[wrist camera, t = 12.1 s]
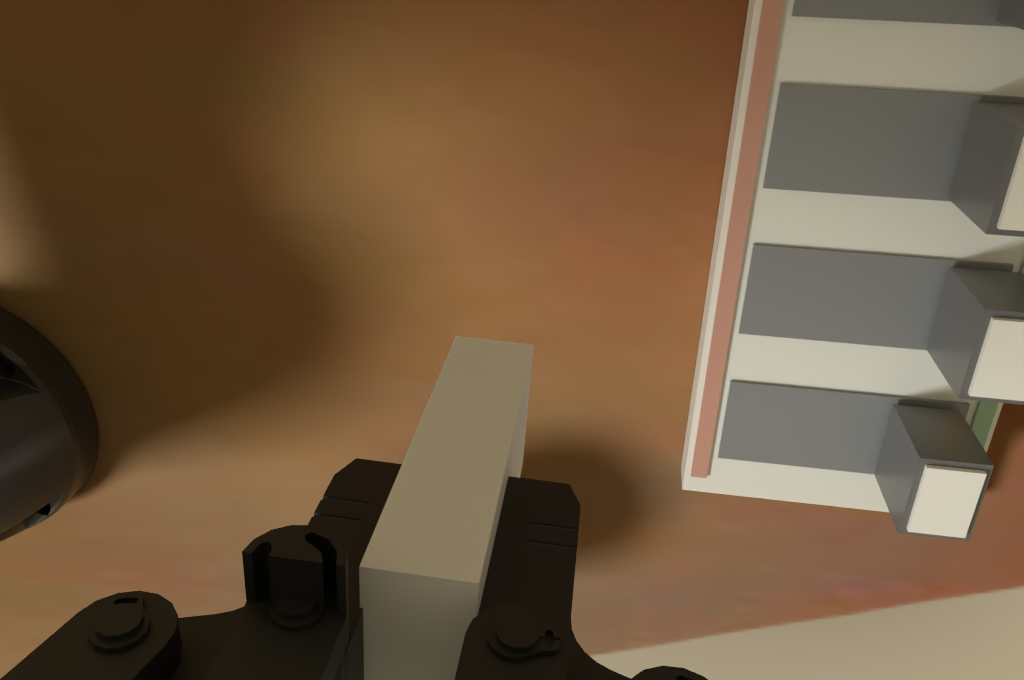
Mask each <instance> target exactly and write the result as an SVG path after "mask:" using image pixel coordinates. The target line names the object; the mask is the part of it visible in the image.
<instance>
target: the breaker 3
mask: <svg viewBox="0 0 1024 680" xmlns="http://www.w3.org/2000/svg"><path fill="white" fill-rule="evenodd" d="M993 468H994V464H993V463H992V461H991V460H990V458H989V456H988V455H987V453H986V452H985V450H984V448H983V447H982V445H981V444H980V442H979V440H978V439H977V437H976V436H975V434H974V432H973V431H972V429H971V428H970V426H969V424H968V423H967V421H966V420H965V418H964V416H963V415H962V413H961V412H960V411H958V410H947V409H937V408H926V407H916V406H906V405H895V404H893V406H892V410H891V414H890V418H889V421H888V425H887V429H886V432H885V436H884V440H883V444H882V447H881V451H880V455H879V458H878V462H877V466H876V470H875V473H874V475H875V477H876V480H877V482H878V485H879V487H880V490H881V492H882V495H883V497H884V500H885V502H886V505H887V507H888V510H889V512H890V515H891V517H892V520H893V522H894V525H895V527H896V530H897V532H898V533H904V534H913V535H921V536H930V537H939V538H948V539H957V540H966V541H969V538H970V535H971V532H972V529H973V526H974V523H975V521H976V518H977V515H978V512H979V509H980V506H981V503H982V500H983V497H984V494H985V491H986V488H987V486H988V483H989V480H990V477H991V474H992V471H993Z"/></svg>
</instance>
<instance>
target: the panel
mask: <svg viewBox="0 0 1024 680" xmlns="http://www.w3.org/2000/svg"><path fill="white" fill-rule="evenodd" d="M1000 4H1001V0H749V4H748V11H747V18H746V25H745V32H744V39H743V46H742V52H741V59H740V66H739V73H738V80H737V87H736V94H735V101H734V107H733V114H732V121H731V128H730V135H729V142H728V149H727V155H726V162H725V169H724V176H723V183H722V190H721V197H720V203H719V210H718V217H717V224H716V231H715V238H714V245H713V251H712V258H711V265H710V272H709V279H708V286H707V293H706V299H705V306H704V313H703V320H702V327H701V334H700V341H699V348H698V354H697V361H696V368H695V375H694V382H693V389H692V396H691V402H690V409H689V416H688V423H687V430H686V437H685V444H684V450H683V457H682V464H681V476H682V489H683V490H692V491H701V492H710V493H719V494H728V495H737V496H746V497H755V498H764V499H774V500H783V501H792V502H801V503H810V504H819V505H828V506H837V507H846V508H855V509H865V510H874V511H883V512H889V510H888V507H887V505H886V502H885V500H884V497H883V495H882V492H881V490H880V487H879V485H878V482H877V480H876V477H875V475H874V473H875V470H876V466H877V462H878V458H879V455H880V451H881V447H882V444H883V440H884V436H885V432H886V429H887V425H888V421H889V418H890V414H891V410H892V406H893V404H895V405H906V406H916V407H926V408H937V409H947V410H958V411H960V412H961V413H962V415H963V416H964V418H965V420H966V421H967V423H968V424H969V426H970V428H971V429H972V431H973V432H974V434H975V436H976V437H977V439H978V440H979V442H980V444H981V445H982V447H983V448H984V450H985V452H986V453H987V450H988V447H989V444H990V441H991V438H992V435H993V432H994V429H995V426H996V423H997V420H998V417H999V414H1000V411H1001V408H1002V405H1003V403H998V402H987V401H977V400H966V399H958V398H957V396H956V395H955V393H954V392H953V390H952V389H951V387H950V385H949V384H948V382H947V381H946V379H945V378H944V376H943V374H942V373H941V371H940V370H939V368H938V367H937V365H936V364H935V362H934V360H933V359H932V357H931V356H930V354H929V353H928V351H927V349H926V348H927V345H928V341H929V338H930V334H931V330H932V327H933V323H934V320H935V316H936V313H937V309H938V305H939V302H940V298H941V295H942V291H943V287H944V284H945V280H946V277H947V273H948V270H949V267H956V268H969V269H981V270H994V271H1007V272H1019V273H1023V274H1024V237H1018V236H1004V235H991V234H985V233H984V232H983V231H982V230H981V229H980V228H979V227H978V226H977V225H976V224H975V223H973V222H972V221H971V220H970V219H969V218H968V217H967V216H966V215H965V214H964V213H963V212H962V211H961V210H960V209H959V208H958V207H957V206H956V205H954V204H953V203H952V202H951V201H950V200H949V199H948V198H949V194H950V190H951V187H952V183H953V179H954V175H955V172H956V168H957V164H958V160H959V157H960V153H961V149H962V146H963V142H964V138H965V134H966V131H967V127H968V123H969V119H970V116H971V112H972V108H973V105H974V101H979V102H996V103H1013V104H1024V30H1023V29H1019V28H1016V27H1013V26H1010V25H1006V24H1003V23H1000V22H997V21H996V19H997V15H998V11H999V8H1000Z"/></svg>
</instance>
